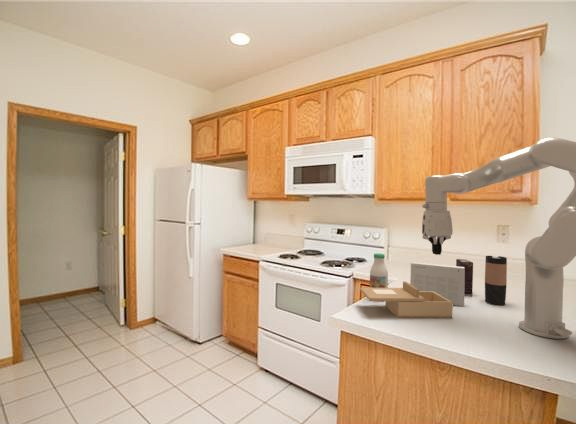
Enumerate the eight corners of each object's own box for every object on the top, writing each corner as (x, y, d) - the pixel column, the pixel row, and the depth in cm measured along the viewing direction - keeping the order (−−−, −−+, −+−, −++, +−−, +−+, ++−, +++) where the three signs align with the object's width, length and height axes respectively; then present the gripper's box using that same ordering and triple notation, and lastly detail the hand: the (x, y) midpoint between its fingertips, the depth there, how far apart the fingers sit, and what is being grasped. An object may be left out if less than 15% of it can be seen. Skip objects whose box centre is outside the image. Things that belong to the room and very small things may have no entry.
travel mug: (496, 306, 123) (497, 258, 122) (480, 301, 130) (481, 255, 130) (510, 305, 125) (511, 258, 124) (493, 299, 132) (494, 255, 132)
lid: (424, 301, 108) (425, 290, 108) (369, 300, 108) (369, 290, 108) (408, 290, 123) (408, 280, 123) (359, 289, 123) (359, 280, 122)
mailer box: (452, 318, 109) (452, 302, 109) (398, 317, 109) (398, 301, 108) (433, 305, 123) (433, 291, 123) (385, 305, 123) (385, 290, 122)
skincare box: (464, 303, 126) (465, 266, 126) (463, 307, 122) (464, 268, 122) (412, 295, 138) (412, 261, 138) (409, 297, 133) (410, 263, 133)
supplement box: (473, 296, 136) (473, 262, 136) (461, 295, 137) (462, 261, 137) (465, 291, 145) (466, 259, 145) (455, 290, 146) (455, 258, 146)
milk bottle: (373, 295, 137) (374, 252, 137) (390, 298, 132) (391, 254, 132) (366, 298, 131) (367, 254, 131) (383, 302, 126) (384, 256, 126)
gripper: (421, 207, 111) (422, 255, 111) (460, 206, 111) (461, 255, 111) (413, 207, 119) (413, 253, 119) (449, 207, 119) (450, 252, 119)
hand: (436, 254), depth 115 cm, fingers closed
